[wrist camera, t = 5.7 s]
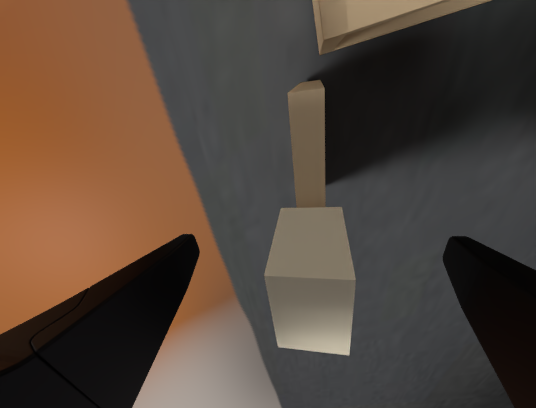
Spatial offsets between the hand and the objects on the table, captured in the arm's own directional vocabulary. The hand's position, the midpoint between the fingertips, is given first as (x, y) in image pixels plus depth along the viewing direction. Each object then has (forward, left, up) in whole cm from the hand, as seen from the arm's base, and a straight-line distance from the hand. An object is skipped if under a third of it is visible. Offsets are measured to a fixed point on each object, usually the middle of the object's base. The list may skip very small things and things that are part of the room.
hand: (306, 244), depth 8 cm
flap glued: (-2, 0, -7) cm, 7 cm away
